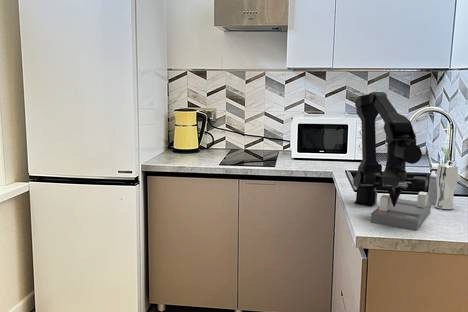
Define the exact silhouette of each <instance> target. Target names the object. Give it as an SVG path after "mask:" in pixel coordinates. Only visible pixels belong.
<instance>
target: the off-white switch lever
mask: <svg viewBox="0 0 468 312" xmlns="http://www.w3.org/2000/svg"><path fill="white" fill-rule="evenodd" d="M390 201H391V198H390V195H389V194H382V195H381V196H380V197H379V206H380V207H379V206H378V207H379V210H380V211H386V212H387V211H388V210H389V209H390Z"/></svg>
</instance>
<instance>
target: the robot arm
mask: <svg viewBox="0 0 468 312" xmlns="http://www.w3.org/2000/svg"><path fill="white" fill-rule="evenodd" d="M354 106H355V110H356V111H355V112H356V115H357V116H358V117H359V119H360V120H361V154H362V155H361V158H362V160H361V162H360V164H359V165H358V167H357V172H356V174H355V176H354V177H353V179H352V182H353V186H354V187H356V197H355V198H356V199H355V201H354V202H353V203H354V204H356V205H364V206H367V207H368V206H370V207H372V206H374V205H375V204H376V203H377V201H378V191H377V189H381V187H382V188H384V189H386V191H387V192H388V195H389V196H390V198H391V201H392V204H393V207H395V205H396V203H397V201H398V199H400V196H401V193H402V191H403V190H406V189H407V188H408V187H409V185H410V186H411V187H412V188H413V189H421V190H426V188H427V187H429V179H428V178H427V176H417V175H416V176H413V177H411V178H409V177H408V176H407V175H408V173H407V170H406V166H407V165H406V164H410V165H412V164H416V163H418V162H419V161H420V160H421V158H422V156H423V152H422V149H421V148H420V146H418V145H417V135H416V133H415V130H414V128H413V127H414V126H413V125H412V122H411V121H410V119H408V118H407V117H406V116H405V115H403V114H400V113H398V112H397V110H396V109H395V107H394V106H393V104H392V103H391V101H390V99H388V95H387V93H386V92H384V91H373V92H370V93H368V94H364V95H359V96H358V97H357V98H356V99H355V102H354ZM378 116H380V118H381V119H382V120H383V122H384V124H383V127H382V128H383V130H384V133H385V135H386V137H387V138H386V140H384V141H385V142H384V143H386V146H387V147H386V163H385V168H384V170H383V166H382V164H381V163H379V161H378V160H377V139H376V119H377V117H378ZM407 177H408V178H407ZM381 185H382V186H381Z"/></svg>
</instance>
